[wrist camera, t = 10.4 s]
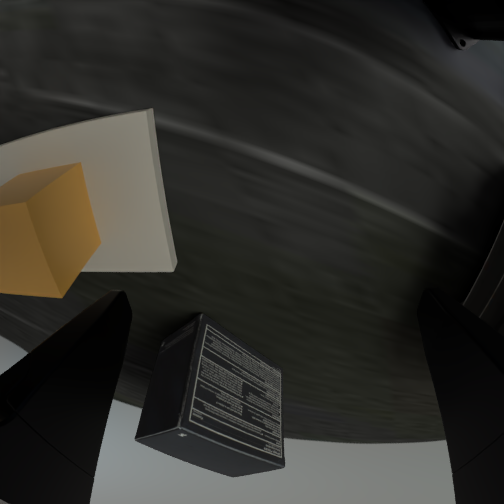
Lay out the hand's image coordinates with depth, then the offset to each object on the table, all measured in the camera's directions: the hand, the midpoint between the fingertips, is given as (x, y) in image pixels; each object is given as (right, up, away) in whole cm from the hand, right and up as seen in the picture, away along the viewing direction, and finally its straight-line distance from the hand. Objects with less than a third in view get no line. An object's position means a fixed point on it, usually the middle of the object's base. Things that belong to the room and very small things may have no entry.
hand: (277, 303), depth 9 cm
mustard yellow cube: (-14, +5, +10) cm, 18 cm away
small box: (-3, -8, +20) cm, 22 cm away
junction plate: (-14, +5, +11) cm, 19 cm away
